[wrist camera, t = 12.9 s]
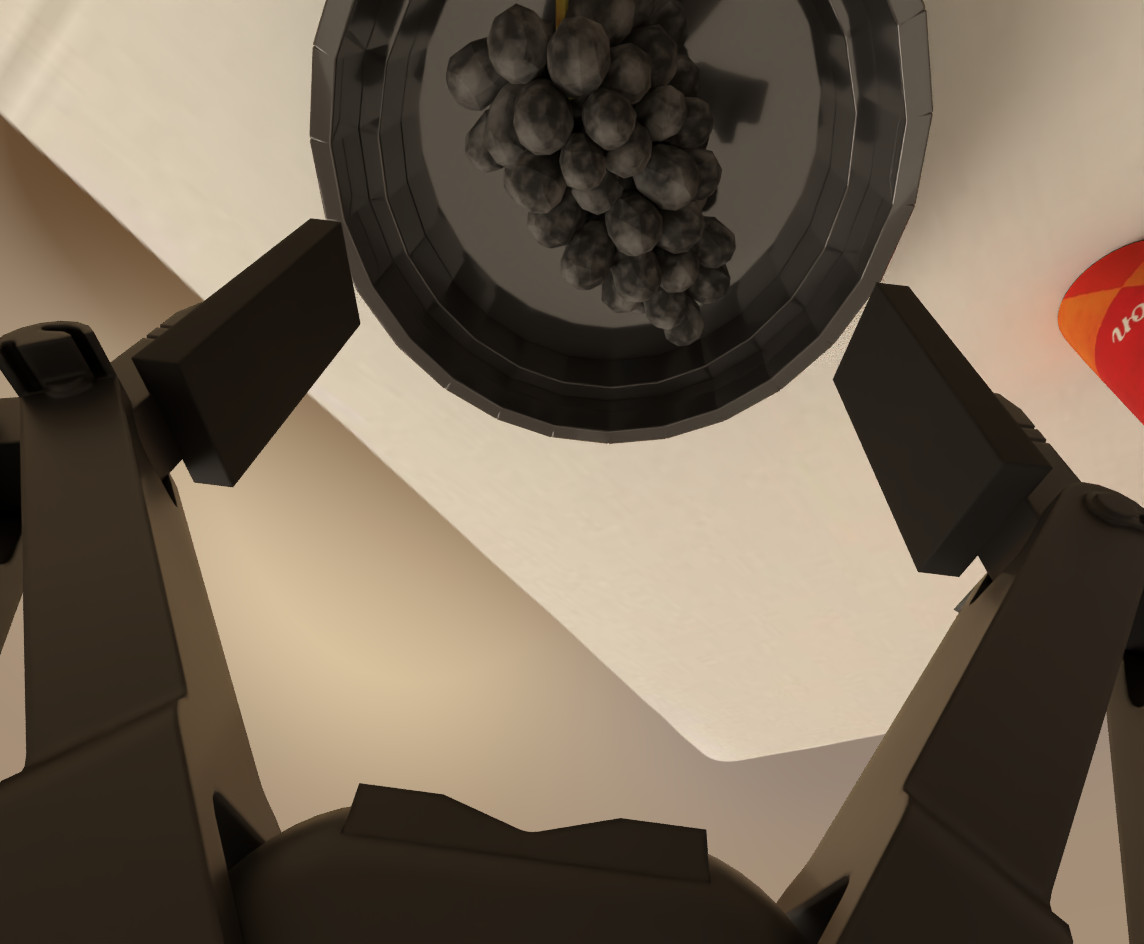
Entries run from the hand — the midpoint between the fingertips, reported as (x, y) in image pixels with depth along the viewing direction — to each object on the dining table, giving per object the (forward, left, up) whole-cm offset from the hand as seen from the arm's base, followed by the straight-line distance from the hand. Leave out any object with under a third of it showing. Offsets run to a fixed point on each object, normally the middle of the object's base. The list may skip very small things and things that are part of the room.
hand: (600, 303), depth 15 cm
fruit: (0, 0, -14) cm, 14 cm away
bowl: (0, 0, -14) cm, 14 cm away
